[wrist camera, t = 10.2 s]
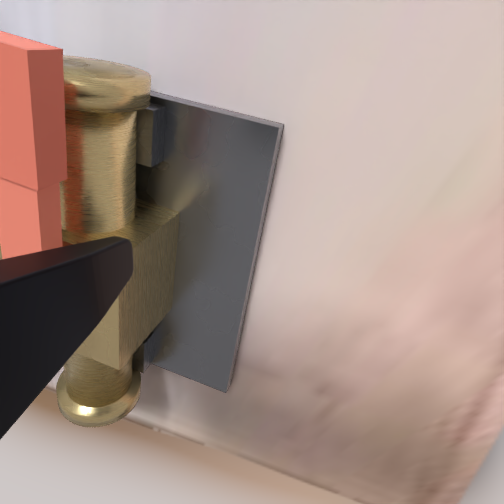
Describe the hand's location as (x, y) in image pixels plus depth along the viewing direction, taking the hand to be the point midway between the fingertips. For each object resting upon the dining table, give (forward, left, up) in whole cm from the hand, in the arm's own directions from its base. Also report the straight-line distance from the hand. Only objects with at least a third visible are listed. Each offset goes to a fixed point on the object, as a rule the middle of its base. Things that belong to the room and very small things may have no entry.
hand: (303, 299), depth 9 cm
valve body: (-10, -6, -9) cm, 15 cm away
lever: (-10, -2, -3) cm, 11 cm away
